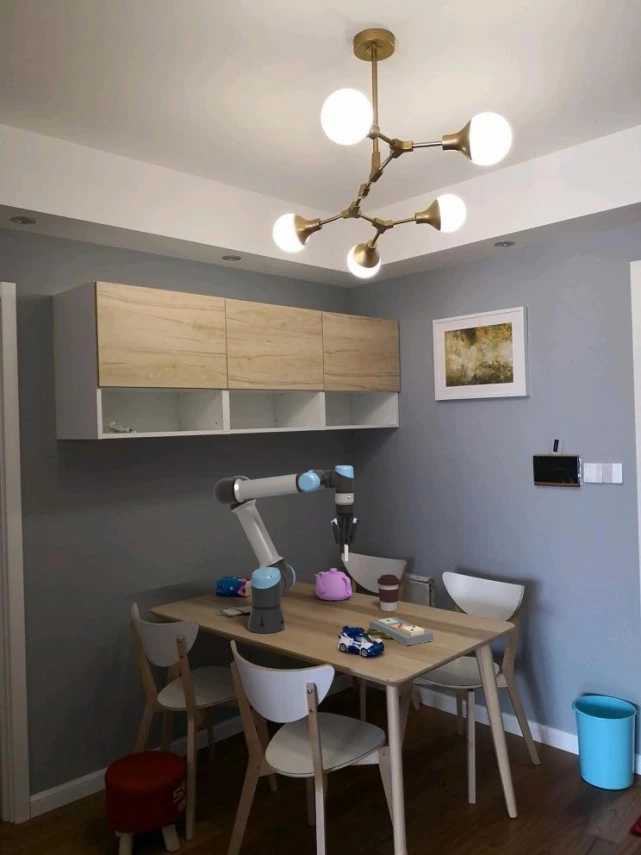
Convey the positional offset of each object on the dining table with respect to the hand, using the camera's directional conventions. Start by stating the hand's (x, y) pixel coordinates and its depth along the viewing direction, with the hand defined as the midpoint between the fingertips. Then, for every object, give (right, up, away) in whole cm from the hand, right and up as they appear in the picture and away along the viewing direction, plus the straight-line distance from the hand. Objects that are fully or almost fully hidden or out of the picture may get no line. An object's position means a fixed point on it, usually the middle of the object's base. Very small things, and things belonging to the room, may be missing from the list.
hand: (344, 560), depth 280 cm
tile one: (+17, -26, -6) cm, 32 cm away
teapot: (-5, -27, +43) cm, 50 cm away
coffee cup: (+20, -26, +22) cm, 40 cm away
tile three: (+21, -26, -14) cm, 36 cm away
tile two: (+25, -25, -21) cm, 41 cm away
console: (+21, -26, -14) cm, 36 cm away
